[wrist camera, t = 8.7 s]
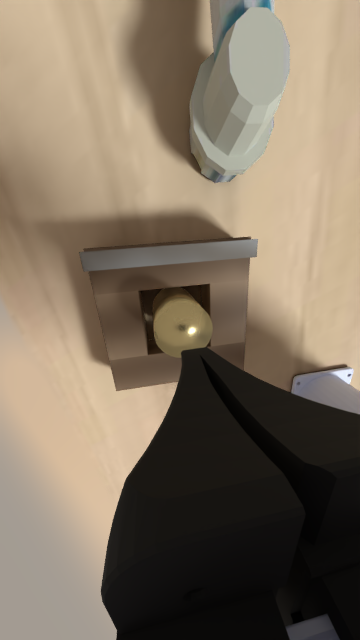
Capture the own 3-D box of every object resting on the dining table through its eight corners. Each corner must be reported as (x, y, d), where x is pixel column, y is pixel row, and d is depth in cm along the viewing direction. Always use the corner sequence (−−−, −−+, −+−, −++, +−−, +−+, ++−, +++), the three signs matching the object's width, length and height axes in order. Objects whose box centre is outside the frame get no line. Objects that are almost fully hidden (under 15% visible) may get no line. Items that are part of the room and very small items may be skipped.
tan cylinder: (193, 324, 20) (211, 354, 14) (154, 327, 19) (156, 360, 13) (193, 285, 18) (213, 301, 13) (151, 287, 18) (151, 305, 12)
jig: (231, 355, 21) (248, 377, 18) (121, 371, 20) (114, 399, 16) (234, 238, 17) (257, 235, 13) (94, 248, 16) (78, 248, 12)
